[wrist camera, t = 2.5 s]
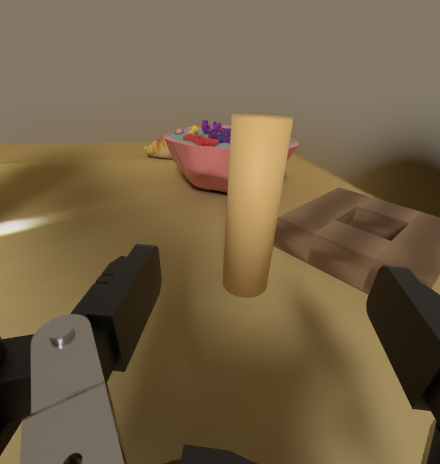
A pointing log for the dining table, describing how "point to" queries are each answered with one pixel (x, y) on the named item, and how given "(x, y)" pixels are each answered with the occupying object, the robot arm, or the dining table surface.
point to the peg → (253, 198)
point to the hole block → (361, 238)
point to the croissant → (160, 148)
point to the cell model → (205, 154)
